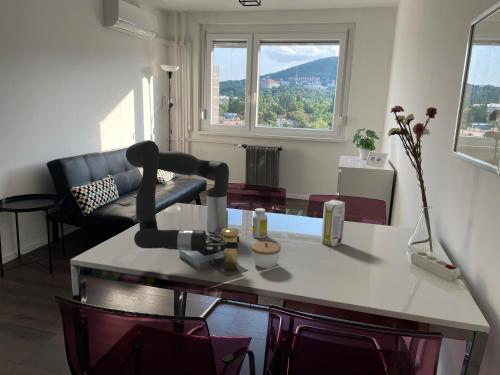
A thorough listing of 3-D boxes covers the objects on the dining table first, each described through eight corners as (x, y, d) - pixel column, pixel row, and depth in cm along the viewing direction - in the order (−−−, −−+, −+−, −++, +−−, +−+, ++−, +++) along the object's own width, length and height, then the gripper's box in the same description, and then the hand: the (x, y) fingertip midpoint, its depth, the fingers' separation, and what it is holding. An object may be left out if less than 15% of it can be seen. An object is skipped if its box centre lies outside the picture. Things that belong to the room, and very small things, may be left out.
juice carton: (343, 243, 168) (347, 202, 164) (333, 248, 162) (337, 205, 158) (329, 238, 173) (332, 198, 169) (318, 243, 167) (321, 202, 163)
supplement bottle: (268, 235, 177) (269, 208, 174) (264, 239, 170) (265, 212, 168) (254, 233, 179) (255, 206, 176) (250, 237, 173) (251, 210, 170)
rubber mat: (233, 263, 144) (234, 261, 144) (248, 271, 137) (248, 270, 137) (213, 269, 138) (213, 267, 138) (227, 278, 131) (227, 276, 131)
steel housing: (214, 249, 157) (214, 241, 157) (236, 262, 145) (236, 253, 144) (179, 257, 148) (179, 249, 147) (200, 272, 135) (200, 263, 135)
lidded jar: (270, 274, 135) (271, 250, 133) (245, 267, 141) (246, 243, 139) (284, 264, 144) (285, 241, 142) (260, 258, 150) (261, 235, 148)
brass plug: (232, 264, 142) (232, 226, 139) (242, 269, 137) (241, 230, 134) (219, 268, 138) (218, 230, 135) (228, 273, 133) (227, 234, 130)
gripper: (187, 237, 128) (237, 239, 127) (195, 224, 142) (240, 226, 141) (187, 258, 130) (236, 260, 129) (195, 243, 144) (239, 245, 143)
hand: (238, 242), depth 135 cm, fingers open, 6 cm apart
